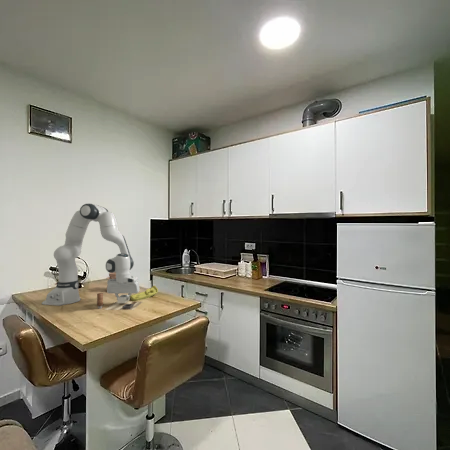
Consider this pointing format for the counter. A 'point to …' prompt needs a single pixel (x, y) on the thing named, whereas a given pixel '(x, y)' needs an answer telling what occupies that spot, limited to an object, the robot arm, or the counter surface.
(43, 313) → the counter surface
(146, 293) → the plastic component
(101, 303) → the brown rounded cylinder
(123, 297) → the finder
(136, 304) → the beige flat block
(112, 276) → the ceramic jug
